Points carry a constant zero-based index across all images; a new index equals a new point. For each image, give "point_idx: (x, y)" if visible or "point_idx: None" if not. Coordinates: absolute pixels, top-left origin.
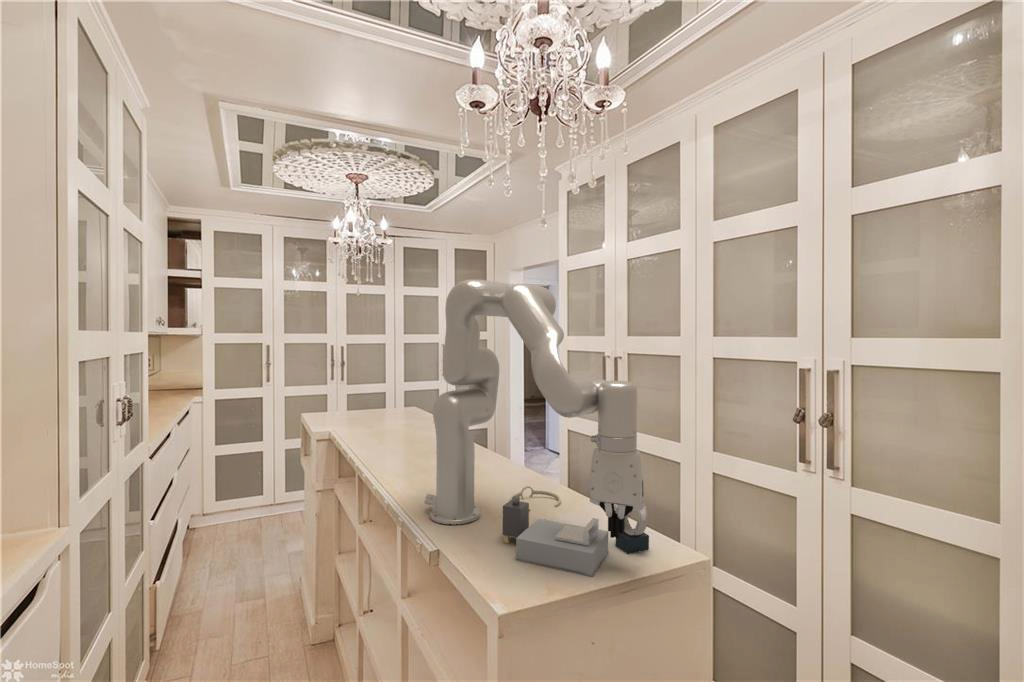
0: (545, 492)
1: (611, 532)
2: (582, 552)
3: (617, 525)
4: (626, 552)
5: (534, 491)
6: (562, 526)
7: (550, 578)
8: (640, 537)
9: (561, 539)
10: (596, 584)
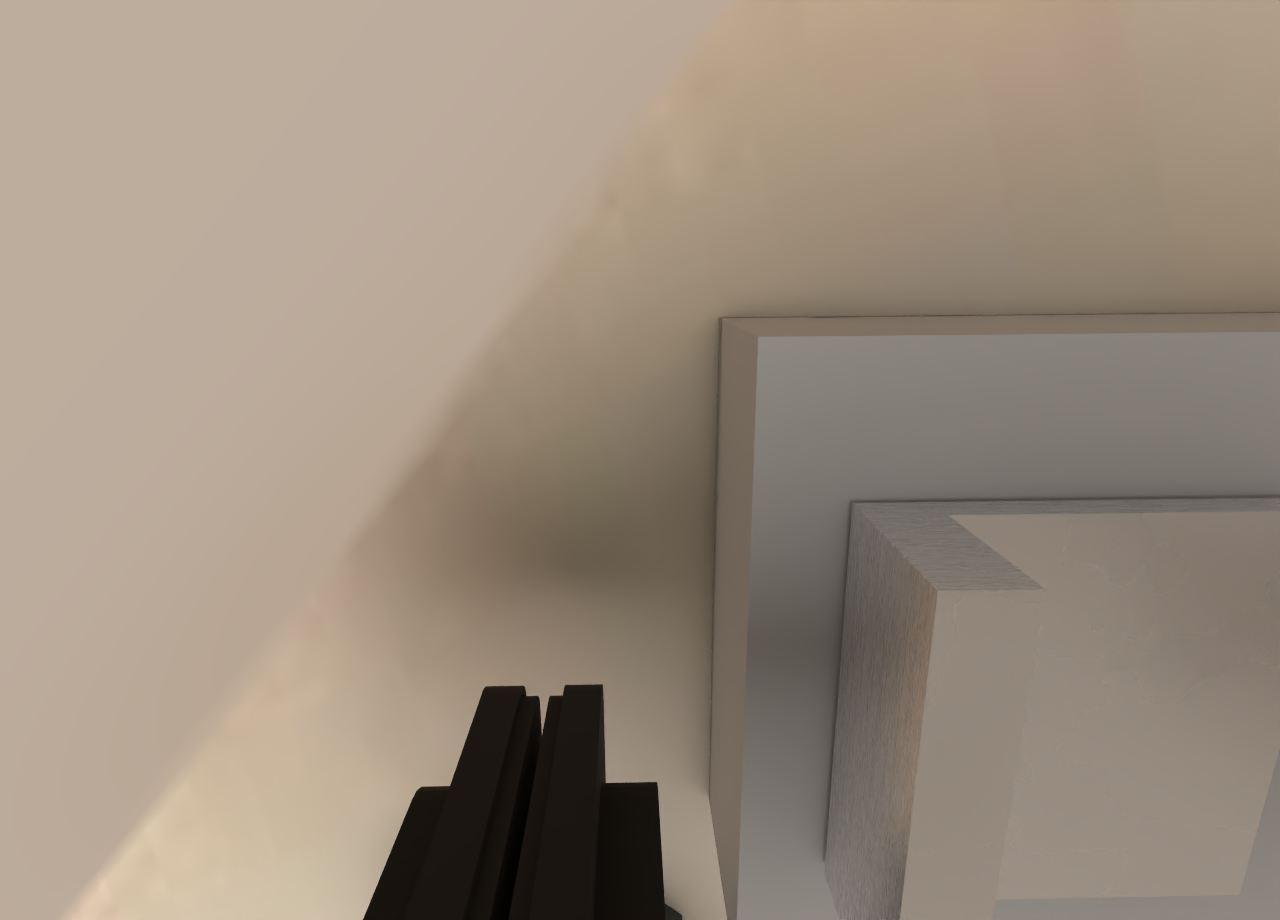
0: None
1: (580, 723)
2: (889, 332)
3: (452, 828)
4: None
5: None
6: (1253, 881)
7: (1080, 103)
8: None
9: (1231, 504)
10: (647, 196)
